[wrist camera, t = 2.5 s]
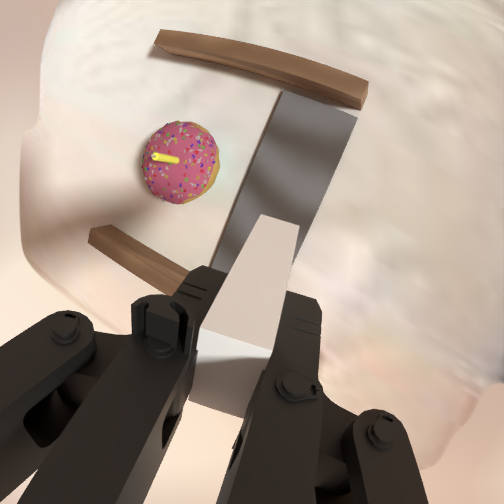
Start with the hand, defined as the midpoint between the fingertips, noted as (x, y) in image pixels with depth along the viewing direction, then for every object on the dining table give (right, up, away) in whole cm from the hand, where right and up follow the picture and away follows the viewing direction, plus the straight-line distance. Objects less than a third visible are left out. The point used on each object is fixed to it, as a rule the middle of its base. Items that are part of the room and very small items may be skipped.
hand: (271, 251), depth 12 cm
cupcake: (-7, +10, +23) cm, 26 cm away
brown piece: (-5, +9, +22) cm, 24 cm away
